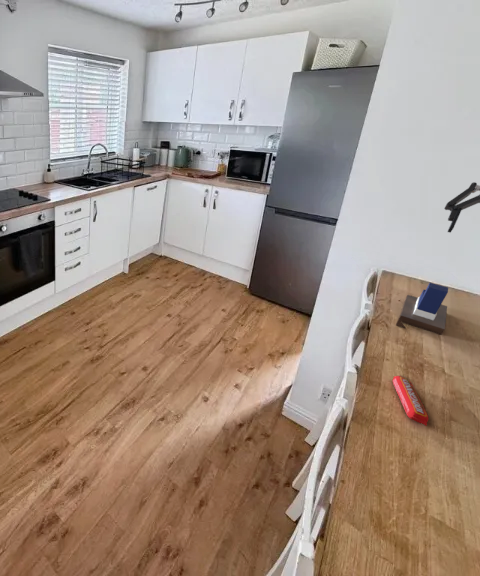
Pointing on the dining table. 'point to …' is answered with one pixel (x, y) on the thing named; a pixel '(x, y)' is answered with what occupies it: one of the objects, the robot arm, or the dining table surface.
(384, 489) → the dining table surface
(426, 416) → the candy bar
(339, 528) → the dining table surface
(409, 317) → the shoe shelf
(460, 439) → the dining table surface
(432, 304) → the two-tone navy white block
